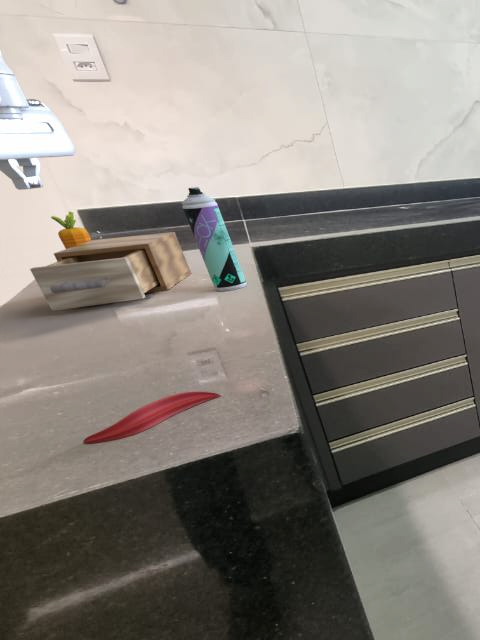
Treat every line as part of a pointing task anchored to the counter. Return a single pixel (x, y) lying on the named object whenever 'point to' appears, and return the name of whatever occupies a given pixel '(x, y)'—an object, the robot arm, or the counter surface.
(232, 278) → the spray can
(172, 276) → the cabinet
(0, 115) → the robot arm
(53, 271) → the drawer
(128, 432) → the cayenne pepper
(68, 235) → the carrot
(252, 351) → the counter surface
